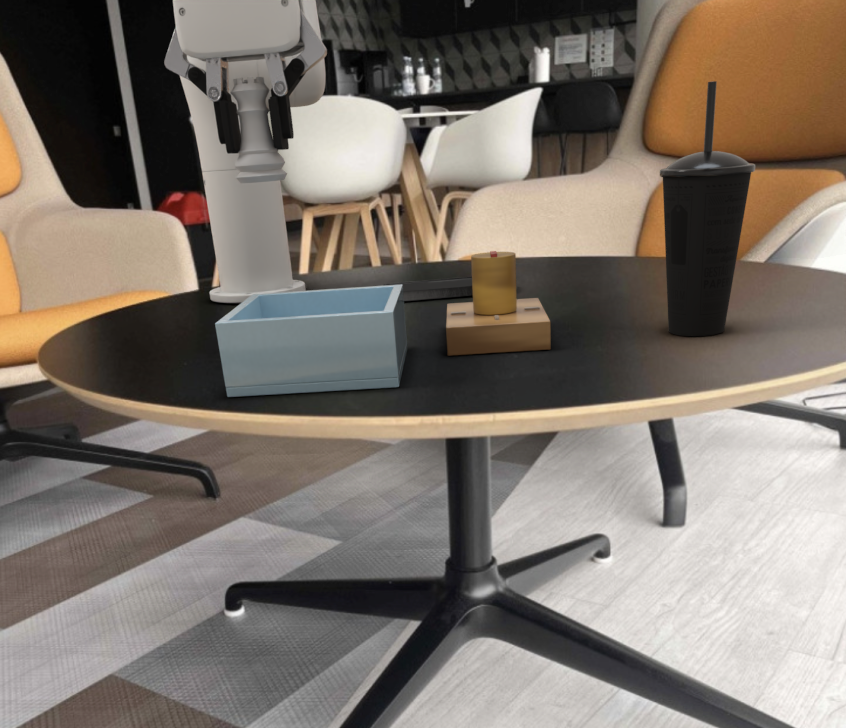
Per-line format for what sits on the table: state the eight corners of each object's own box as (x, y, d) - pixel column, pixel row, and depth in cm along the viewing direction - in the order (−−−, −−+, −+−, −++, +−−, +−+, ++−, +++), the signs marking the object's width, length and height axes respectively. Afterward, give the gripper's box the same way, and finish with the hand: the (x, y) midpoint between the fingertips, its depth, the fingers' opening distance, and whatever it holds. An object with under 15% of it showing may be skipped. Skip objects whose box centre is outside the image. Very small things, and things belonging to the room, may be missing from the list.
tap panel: (448, 328, 87) (446, 301, 86) (538, 323, 87) (538, 295, 86) (447, 356, 76) (445, 325, 75) (550, 349, 76) (550, 318, 75)
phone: (511, 282, 104) (385, 292, 103) (511, 292, 104) (386, 302, 103) (500, 273, 111) (382, 283, 110) (500, 283, 111) (383, 292, 110)
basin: (261, 358, 81) (252, 294, 78) (407, 349, 80) (402, 284, 78) (227, 397, 69) (214, 323, 66) (399, 387, 68) (392, 311, 65)
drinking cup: (746, 338, 75) (769, 75, 66) (654, 341, 76) (665, 83, 68) (736, 321, 81) (755, 79, 73) (651, 323, 83) (661, 87, 75)
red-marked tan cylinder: (473, 308, 82) (470, 250, 80) (515, 305, 82) (514, 247, 80) (473, 316, 79) (471, 255, 77) (518, 313, 79) (516, 252, 76)
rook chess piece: (265, 180, 79) (251, 81, 76) (298, 178, 76) (286, 75, 73) (226, 184, 76) (210, 81, 73) (259, 182, 73) (244, 75, 70)
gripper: (335, -105, 71) (358, 144, 78) (136, -85, 72) (177, 158, 79) (321, -132, 64) (348, 143, 71) (101, -110, 65) (150, 159, 72)
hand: (258, 148), depth 75 cm, fingers closed on rook chess piece, 3 cm apart
